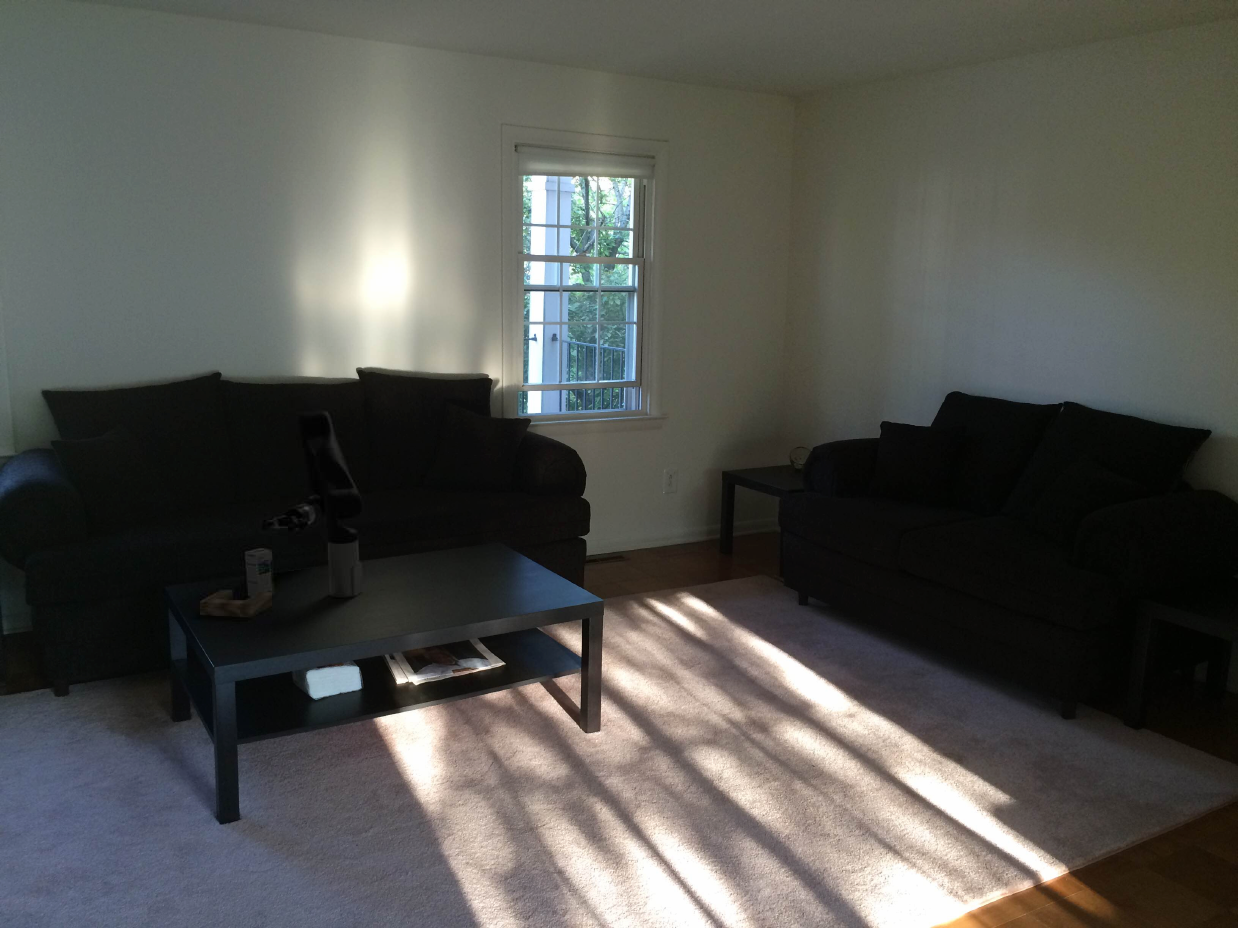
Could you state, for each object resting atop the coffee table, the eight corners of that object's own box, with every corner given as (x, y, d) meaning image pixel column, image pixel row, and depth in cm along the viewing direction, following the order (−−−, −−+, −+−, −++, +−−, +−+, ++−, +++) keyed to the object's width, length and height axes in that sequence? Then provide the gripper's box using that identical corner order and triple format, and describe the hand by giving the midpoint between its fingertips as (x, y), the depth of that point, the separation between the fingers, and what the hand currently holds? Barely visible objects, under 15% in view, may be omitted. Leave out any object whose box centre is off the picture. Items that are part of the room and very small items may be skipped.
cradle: (271, 604, 298) (271, 592, 297) (251, 617, 286) (250, 604, 286) (222, 602, 300) (221, 589, 300) (200, 614, 289) (199, 601, 288)
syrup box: (259, 599, 303) (256, 553, 301) (247, 596, 307) (244, 550, 304) (274, 594, 308) (272, 549, 306) (263, 591, 311) (260, 547, 309)
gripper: (279, 504, 332) (254, 515, 316) (319, 506, 330) (296, 517, 314) (280, 526, 333) (256, 538, 318) (320, 528, 331) (297, 540, 316)
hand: (276, 528), depth 316 cm, fingers open, 8 cm apart
